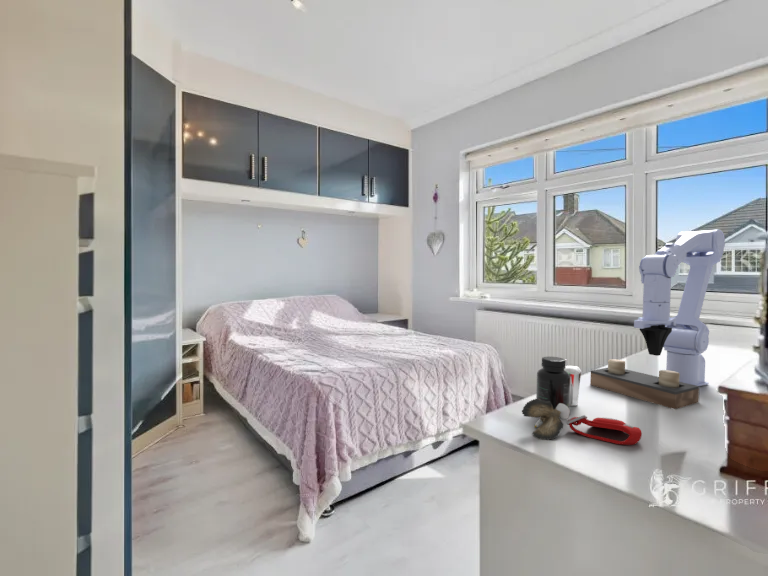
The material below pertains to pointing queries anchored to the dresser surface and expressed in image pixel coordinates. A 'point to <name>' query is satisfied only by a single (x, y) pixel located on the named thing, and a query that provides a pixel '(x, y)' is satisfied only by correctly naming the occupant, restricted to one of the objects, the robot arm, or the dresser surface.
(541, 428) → the eagle figurine
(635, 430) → the tracker holder
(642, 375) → the block
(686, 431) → the dresser surface
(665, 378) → the peg
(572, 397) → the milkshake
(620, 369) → the peg
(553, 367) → the supplement bottle
